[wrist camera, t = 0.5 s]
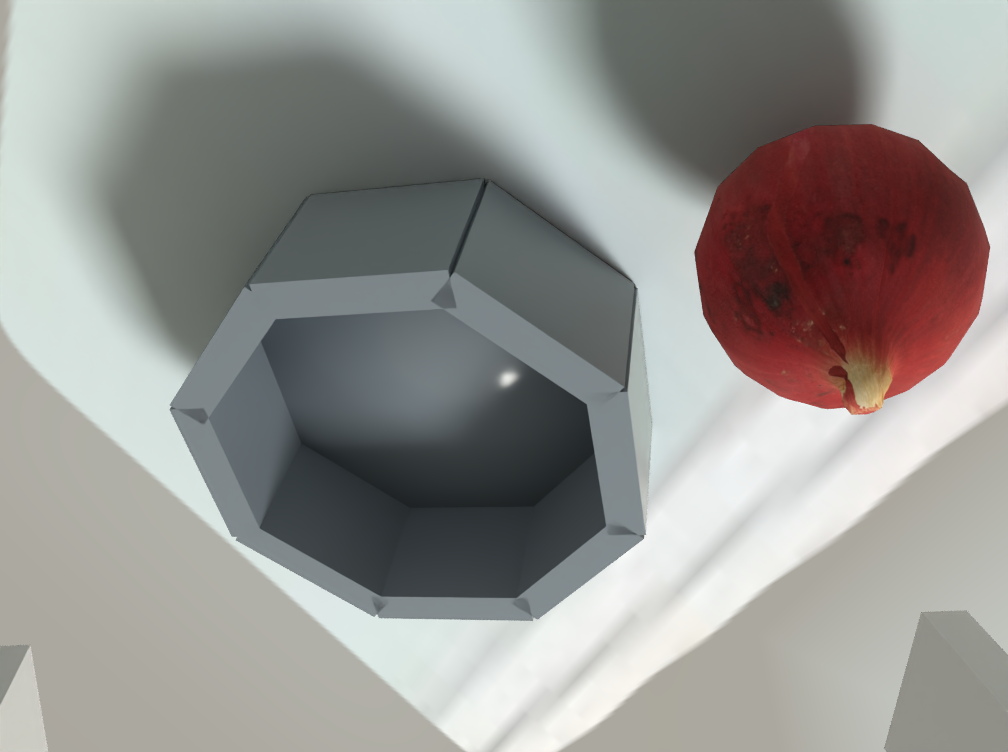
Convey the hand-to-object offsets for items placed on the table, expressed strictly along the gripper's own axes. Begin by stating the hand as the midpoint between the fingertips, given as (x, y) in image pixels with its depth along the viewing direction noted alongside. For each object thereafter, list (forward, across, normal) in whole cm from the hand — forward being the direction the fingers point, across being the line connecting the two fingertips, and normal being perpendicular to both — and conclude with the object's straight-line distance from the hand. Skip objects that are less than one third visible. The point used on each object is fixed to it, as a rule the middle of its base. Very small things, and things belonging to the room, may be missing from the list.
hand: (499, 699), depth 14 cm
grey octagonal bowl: (+15, 0, -1) cm, 15 cm away
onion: (+11, +9, +6) cm, 15 cm away
